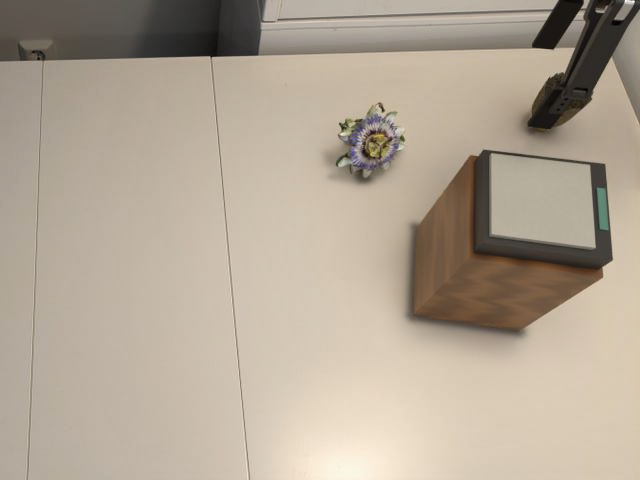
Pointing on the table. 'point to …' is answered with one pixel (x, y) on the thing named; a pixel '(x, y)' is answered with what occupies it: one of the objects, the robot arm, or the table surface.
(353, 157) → the passion flower
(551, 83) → the sea sponge
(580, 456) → the table surface
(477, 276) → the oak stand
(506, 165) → the kitchen scale
